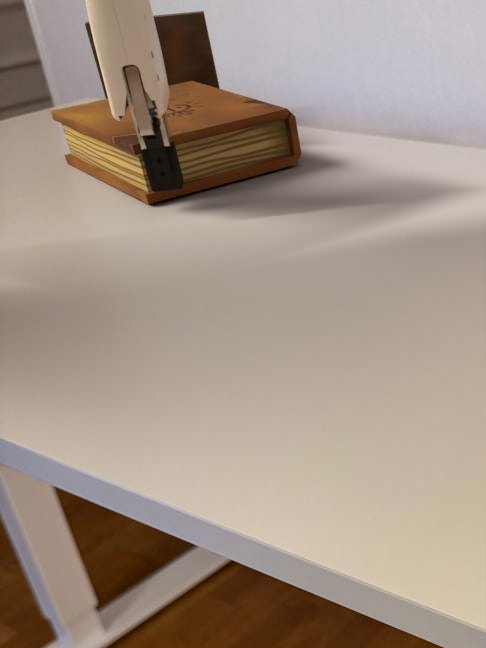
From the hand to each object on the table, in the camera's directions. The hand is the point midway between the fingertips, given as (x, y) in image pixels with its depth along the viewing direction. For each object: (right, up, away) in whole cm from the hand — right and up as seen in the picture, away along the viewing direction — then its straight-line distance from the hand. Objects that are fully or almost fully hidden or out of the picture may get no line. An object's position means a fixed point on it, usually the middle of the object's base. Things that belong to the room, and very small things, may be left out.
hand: (168, 187), depth 95 cm
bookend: (-8, +21, +27) cm, 35 cm away
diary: (-3, +9, +13) cm, 16 cm away
